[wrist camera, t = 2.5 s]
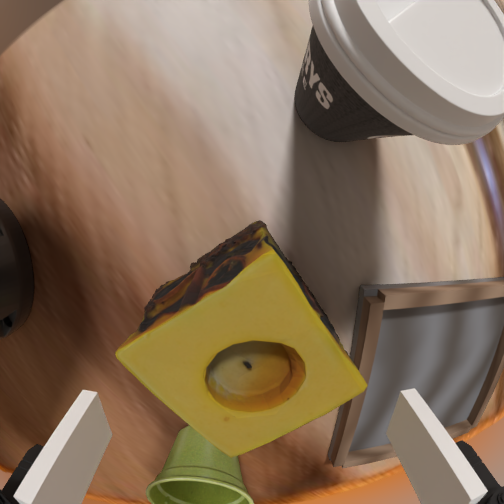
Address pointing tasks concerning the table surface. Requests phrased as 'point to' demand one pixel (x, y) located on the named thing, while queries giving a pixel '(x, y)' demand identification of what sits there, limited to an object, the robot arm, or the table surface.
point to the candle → (241, 347)
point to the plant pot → (198, 474)
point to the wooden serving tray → (421, 360)
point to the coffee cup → (403, 70)
